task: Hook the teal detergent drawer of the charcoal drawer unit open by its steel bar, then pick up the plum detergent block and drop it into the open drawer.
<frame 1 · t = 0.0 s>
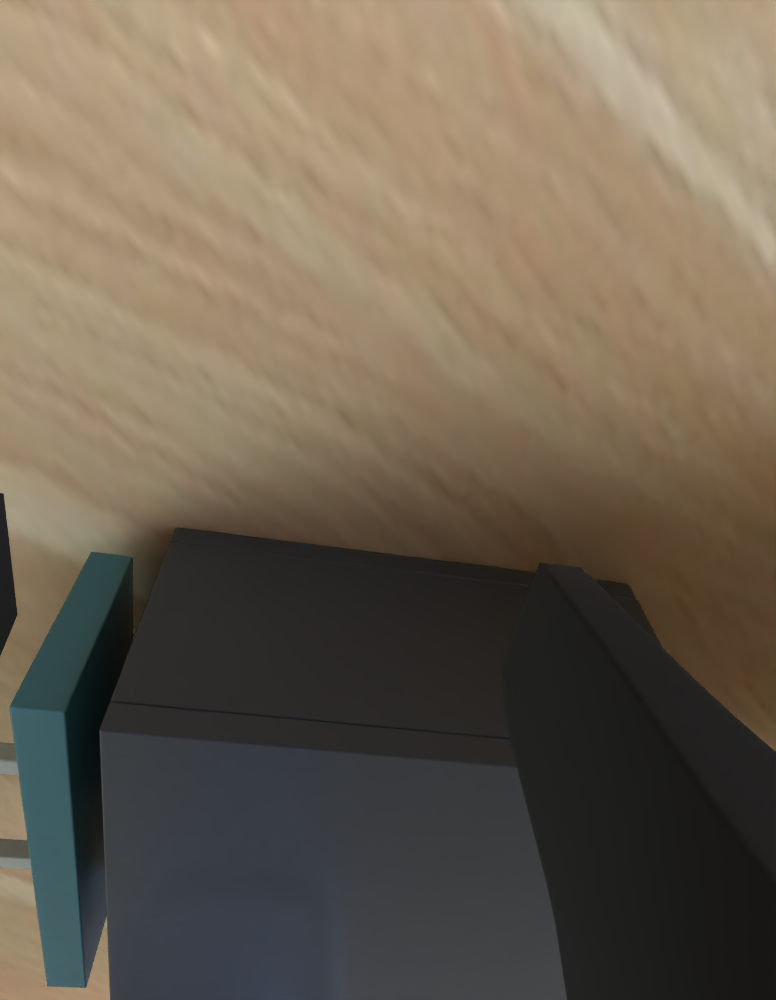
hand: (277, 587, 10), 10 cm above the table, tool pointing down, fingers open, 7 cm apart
drawer: (212, 789, 22), point 4 cm above the table, slide at 1.0 cm
cabinet: (373, 709, 26), on the table
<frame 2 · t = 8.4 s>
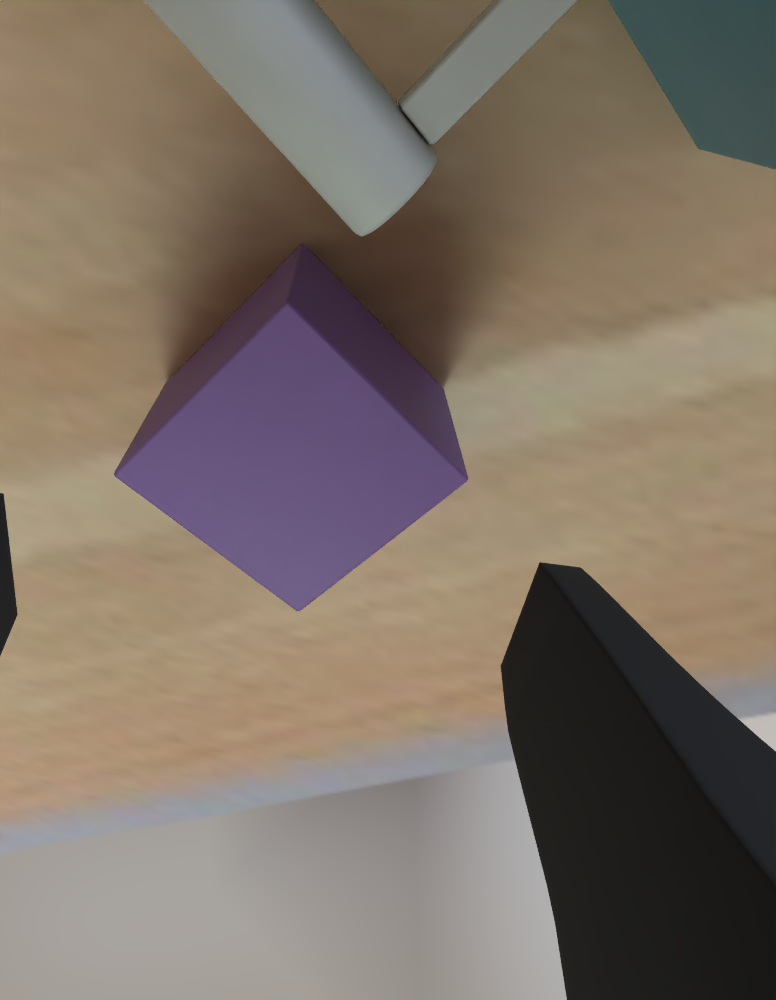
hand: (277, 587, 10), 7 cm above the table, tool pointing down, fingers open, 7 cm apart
block: (306, 387, 16), on the table
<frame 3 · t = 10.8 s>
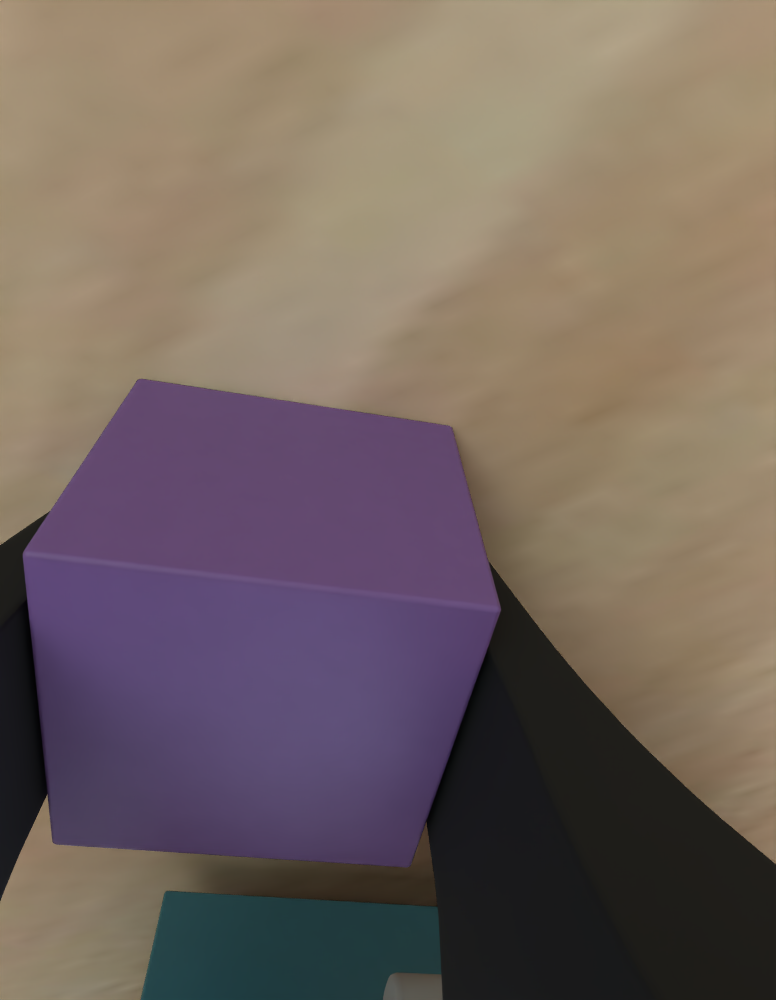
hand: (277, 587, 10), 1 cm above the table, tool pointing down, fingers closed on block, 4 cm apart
block: (283, 529, 11), on the table, touching gripper
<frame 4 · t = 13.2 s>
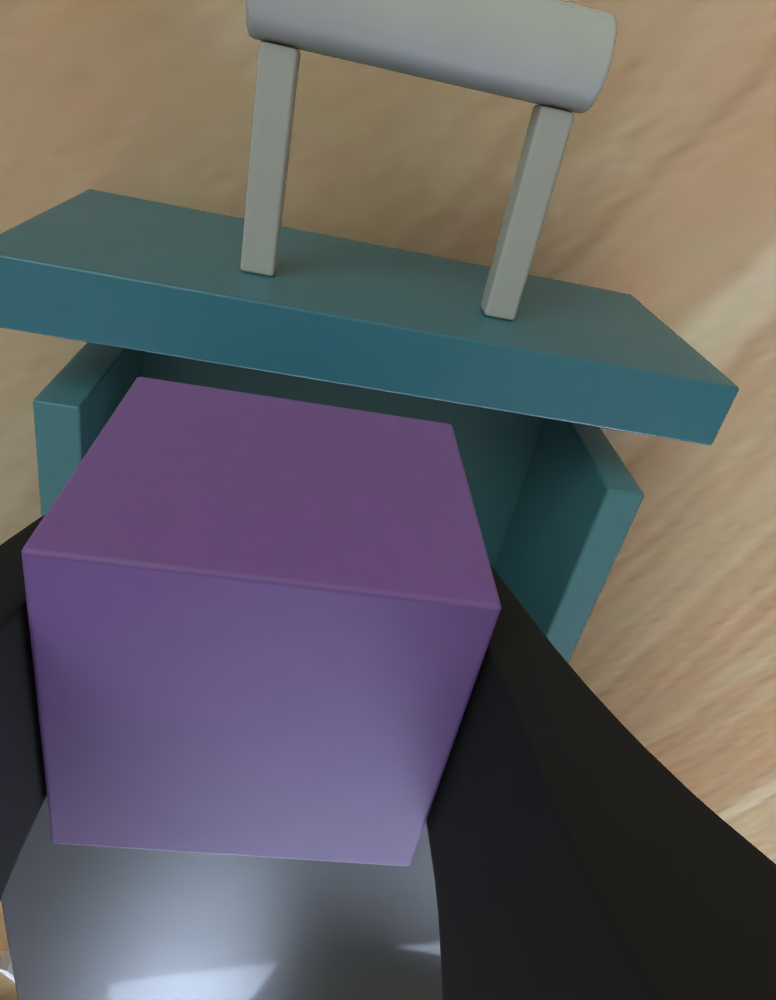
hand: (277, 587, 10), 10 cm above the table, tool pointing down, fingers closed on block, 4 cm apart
drawer: (343, 462, 16), point 4 cm above the table, slide at 8.8 cm
block: (282, 528, 11), point 9 cm above the table, touching gripper
cabinet: (288, 715, 26), on the table
when the fingers open (3 cm above the table, at t = 15.8 s): block stays where it is, resting on drawer.
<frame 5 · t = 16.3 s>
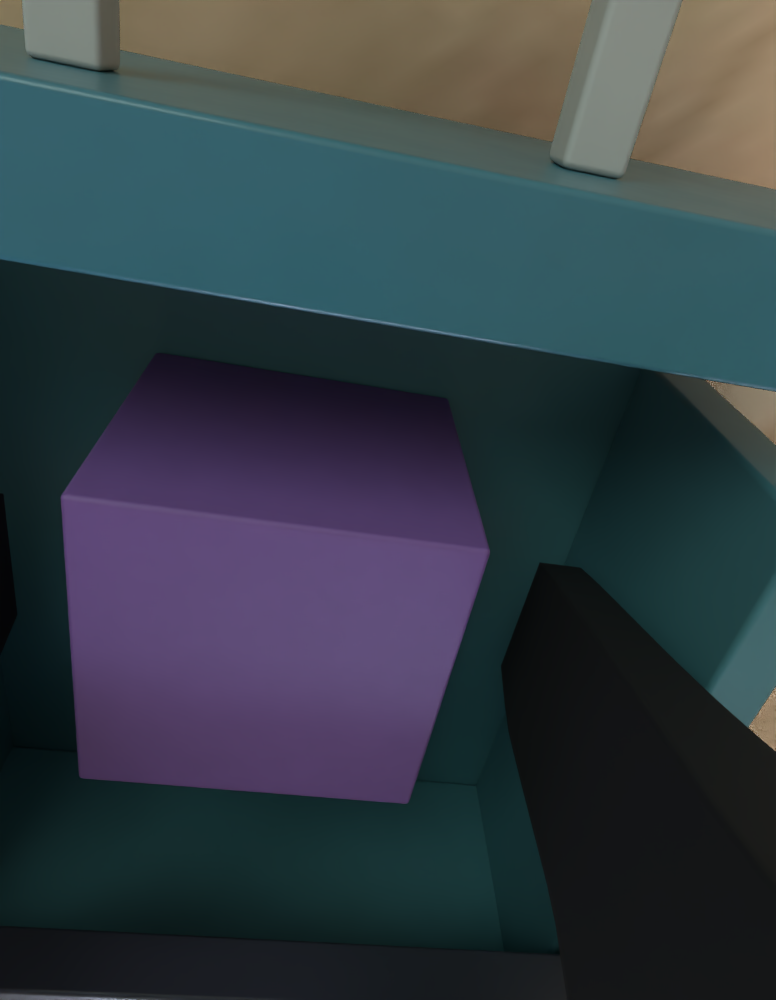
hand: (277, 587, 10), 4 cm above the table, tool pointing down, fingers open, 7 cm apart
drawer: (294, 474, 9), point 4 cm above the table, slide at 8.9 cm, touching block
block: (289, 497, 12), point 2 cm above the table, touching drawer
cabinet: (248, 811, 19), on the table
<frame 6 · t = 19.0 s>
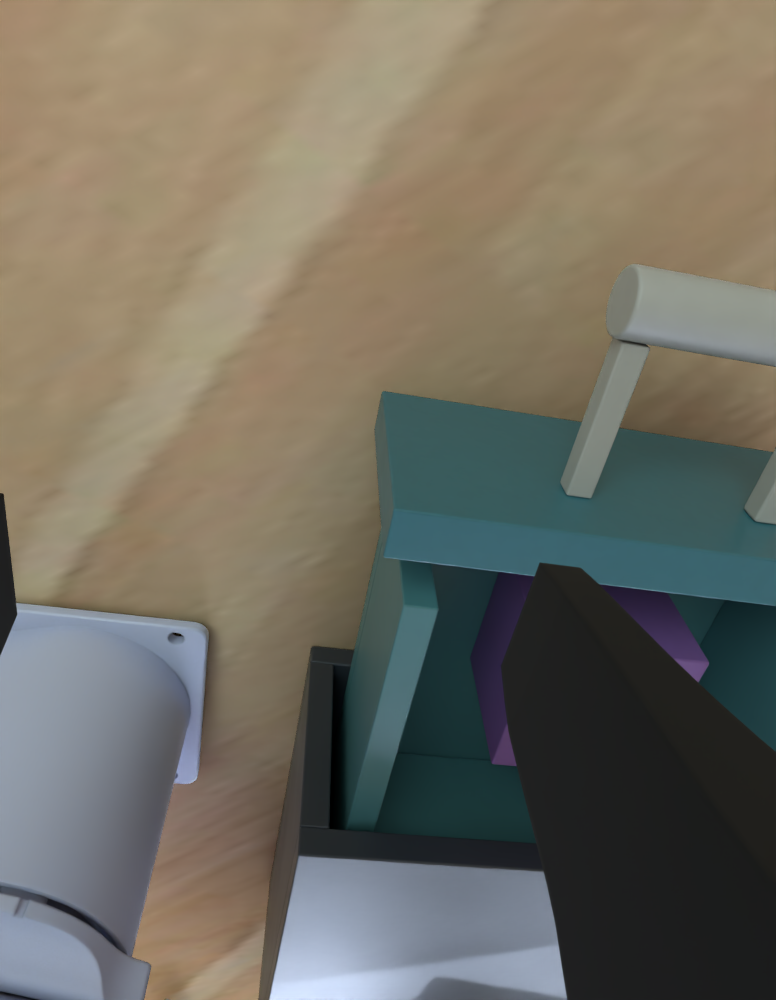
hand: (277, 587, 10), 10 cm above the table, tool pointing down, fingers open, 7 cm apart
drawer: (591, 614, 19), point 4 cm above the table, slide at 8.9 cm, touching block
block: (556, 612, 21), point 2 cm above the table, touching drawer
cabinet: (459, 792, 29), on the table
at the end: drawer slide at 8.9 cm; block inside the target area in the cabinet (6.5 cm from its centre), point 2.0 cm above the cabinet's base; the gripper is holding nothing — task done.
